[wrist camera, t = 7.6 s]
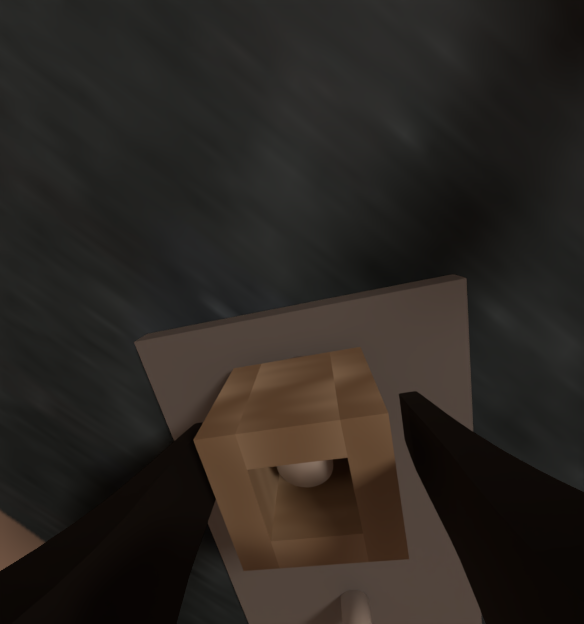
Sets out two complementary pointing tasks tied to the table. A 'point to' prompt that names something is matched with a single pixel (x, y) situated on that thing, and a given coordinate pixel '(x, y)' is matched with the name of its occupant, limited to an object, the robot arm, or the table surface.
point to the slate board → (398, 366)
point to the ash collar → (301, 449)
